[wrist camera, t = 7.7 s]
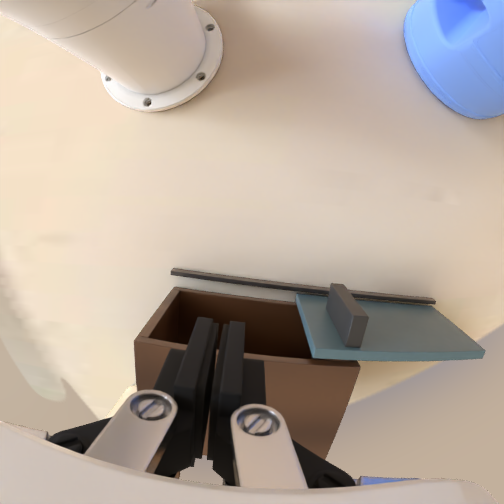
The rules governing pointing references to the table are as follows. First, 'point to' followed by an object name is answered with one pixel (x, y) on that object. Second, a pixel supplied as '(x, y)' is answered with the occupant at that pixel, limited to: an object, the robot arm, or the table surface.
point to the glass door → (380, 330)
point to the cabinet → (261, 352)
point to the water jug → (460, 53)
